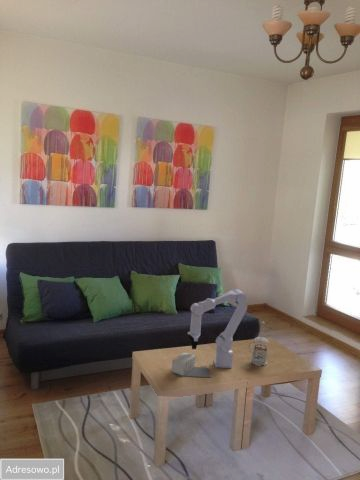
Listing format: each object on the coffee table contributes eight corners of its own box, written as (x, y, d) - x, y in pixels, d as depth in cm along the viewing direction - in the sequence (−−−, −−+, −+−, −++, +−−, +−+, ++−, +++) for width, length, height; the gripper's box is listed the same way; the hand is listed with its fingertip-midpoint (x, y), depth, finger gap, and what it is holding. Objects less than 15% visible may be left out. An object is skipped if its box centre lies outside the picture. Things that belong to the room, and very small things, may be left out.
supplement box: (183, 364, 235) (170, 371, 225) (184, 351, 234) (172, 358, 224) (194, 368, 232) (182, 376, 221) (195, 355, 231) (183, 363, 220)
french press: (266, 367, 239) (270, 325, 236) (246, 363, 243) (250, 322, 239) (268, 360, 249) (272, 320, 245) (249, 356, 252) (253, 317, 248)
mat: (208, 368, 233) (208, 367, 233) (210, 377, 222) (210, 377, 222) (176, 366, 232) (176, 365, 232) (176, 376, 222) (176, 375, 222)
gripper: (187, 320, 238) (186, 343, 240) (189, 329, 223) (187, 353, 225) (200, 320, 238) (198, 343, 240) (202, 330, 224) (200, 354, 226)
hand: (193, 348), depth 233 cm, fingers closed
